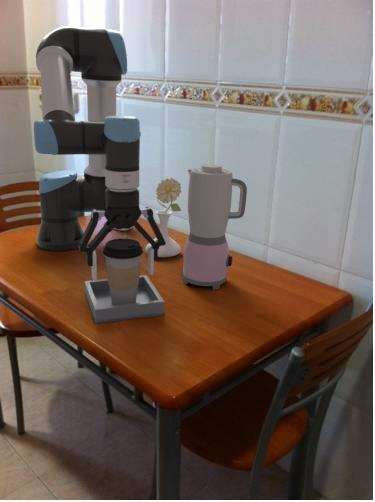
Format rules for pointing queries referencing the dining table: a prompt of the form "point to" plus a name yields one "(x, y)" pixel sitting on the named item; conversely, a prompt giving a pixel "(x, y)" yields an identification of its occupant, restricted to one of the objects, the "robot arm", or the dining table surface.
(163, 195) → the flower in vase
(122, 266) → the coffee cup
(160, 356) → the dining table surface
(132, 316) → the tray
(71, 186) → the robot arm
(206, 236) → the blender
